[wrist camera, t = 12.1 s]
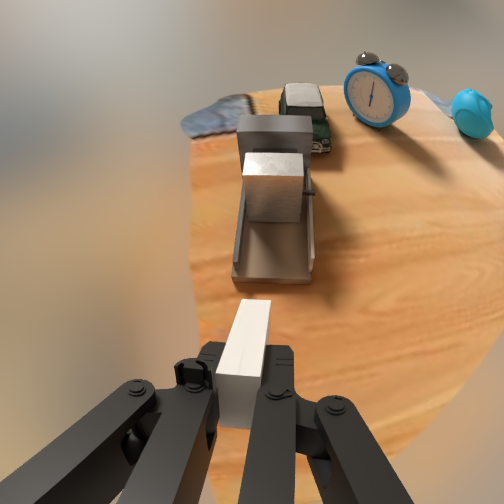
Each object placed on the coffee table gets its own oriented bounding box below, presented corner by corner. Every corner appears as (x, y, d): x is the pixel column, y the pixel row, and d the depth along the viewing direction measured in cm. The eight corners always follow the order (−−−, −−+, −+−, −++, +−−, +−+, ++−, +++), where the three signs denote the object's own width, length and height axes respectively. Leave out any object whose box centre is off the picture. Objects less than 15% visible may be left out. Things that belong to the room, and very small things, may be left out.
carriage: (311, 201, 43) (316, 154, 36) (312, 223, 41) (319, 176, 34) (250, 199, 44) (245, 152, 37) (248, 221, 42) (242, 175, 34)
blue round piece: (489, 154, 51) (507, 116, 41) (449, 137, 54) (464, 96, 44) (479, 127, 56) (493, 92, 46) (442, 112, 59) (454, 74, 49)
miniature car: (280, 159, 51) (280, 122, 44) (278, 106, 60) (277, 74, 54) (331, 160, 51) (337, 124, 44) (319, 107, 60) (321, 76, 53)
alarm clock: (339, 110, 58) (346, 49, 46) (355, 102, 60) (363, 45, 47) (389, 140, 53) (406, 76, 40) (403, 130, 55) (420, 70, 42)
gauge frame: (307, 173, 49) (311, 116, 39) (311, 284, 39) (322, 233, 29) (246, 171, 50) (239, 115, 40) (232, 281, 40) (218, 230, 30)
